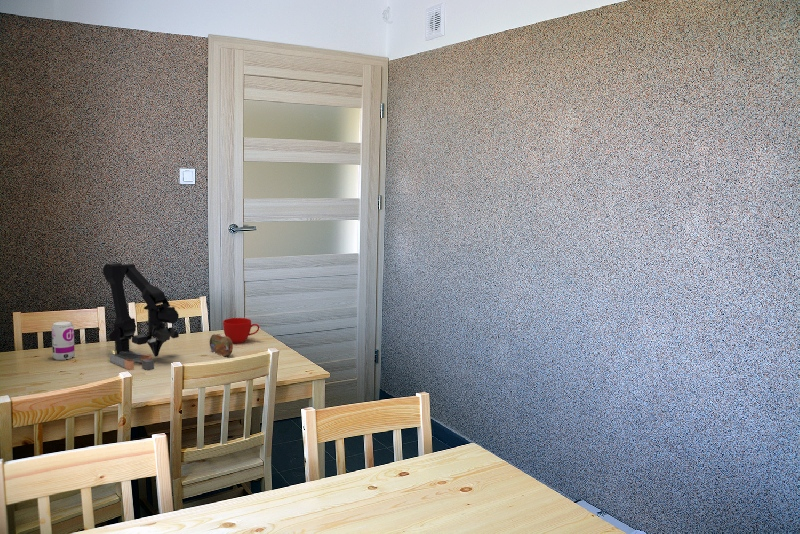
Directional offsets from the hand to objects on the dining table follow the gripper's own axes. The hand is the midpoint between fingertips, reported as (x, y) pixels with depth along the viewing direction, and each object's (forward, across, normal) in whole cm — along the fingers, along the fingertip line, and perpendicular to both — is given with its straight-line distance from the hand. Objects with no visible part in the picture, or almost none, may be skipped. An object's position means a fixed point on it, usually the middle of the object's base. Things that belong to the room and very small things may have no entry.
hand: (156, 356), depth 286 cm
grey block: (+1, -9, -9) cm, 13 cm away
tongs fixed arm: (+1, -13, +3) cm, 14 cm away
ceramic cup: (+2, +44, 0) cm, 44 cm away
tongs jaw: (+1, -8, +3) cm, 8 cm away
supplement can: (+2, -26, +28) cm, 38 cm away
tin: (+2, +25, -11) cm, 27 cm away
